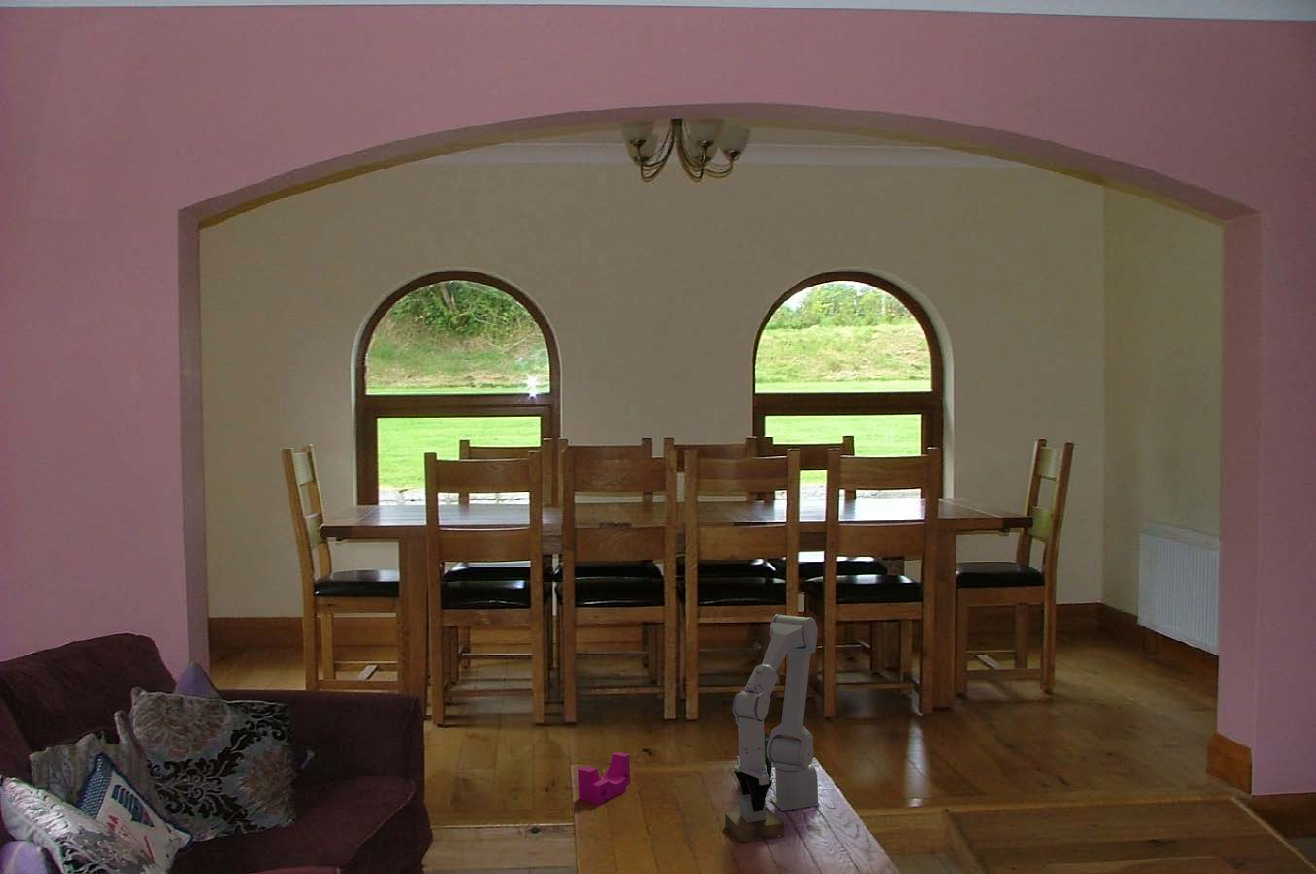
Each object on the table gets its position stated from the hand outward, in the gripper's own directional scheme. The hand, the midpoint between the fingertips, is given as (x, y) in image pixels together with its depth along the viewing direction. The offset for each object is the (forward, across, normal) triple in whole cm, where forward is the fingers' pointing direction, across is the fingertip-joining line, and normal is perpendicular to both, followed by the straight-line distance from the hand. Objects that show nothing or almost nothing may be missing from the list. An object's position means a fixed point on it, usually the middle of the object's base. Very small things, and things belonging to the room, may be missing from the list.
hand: (753, 806), depth 268 cm
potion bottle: (+6, -31, +13) cm, 34 cm away
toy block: (+6, -36, -24) cm, 44 cm away
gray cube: (+3, 0, 0) cm, 3 cm away
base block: (+6, 0, 0) cm, 6 cm away
